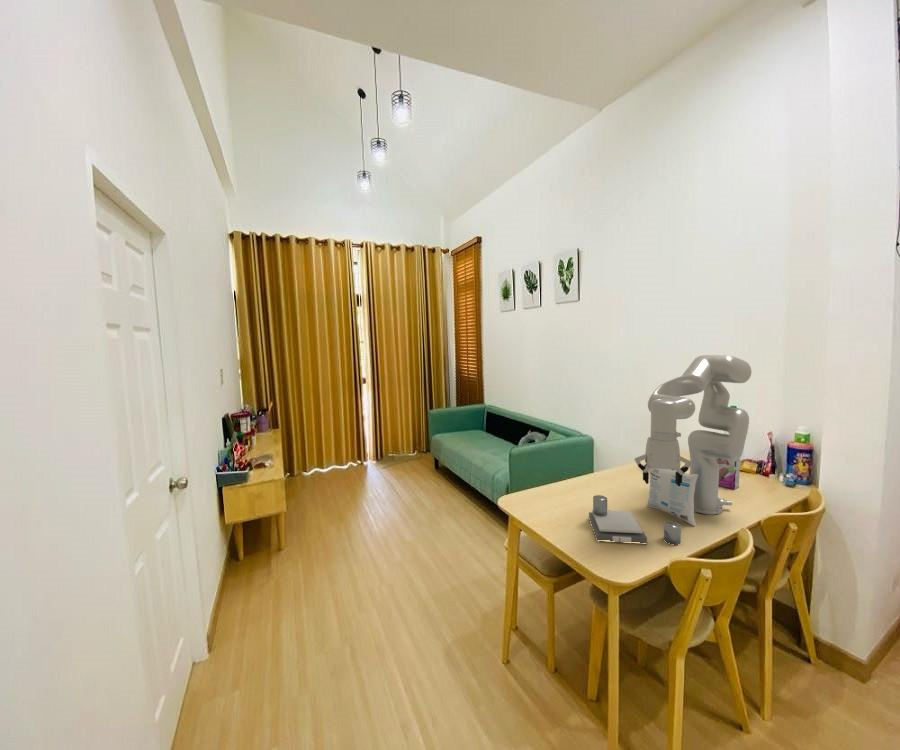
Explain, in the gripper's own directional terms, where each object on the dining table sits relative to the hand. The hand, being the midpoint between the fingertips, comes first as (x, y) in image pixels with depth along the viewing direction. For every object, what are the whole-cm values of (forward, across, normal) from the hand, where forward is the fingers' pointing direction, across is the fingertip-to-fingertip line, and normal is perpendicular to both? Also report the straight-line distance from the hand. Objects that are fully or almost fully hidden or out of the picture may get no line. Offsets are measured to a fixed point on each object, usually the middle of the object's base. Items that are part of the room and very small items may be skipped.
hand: (661, 483), depth 127 cm
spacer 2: (+20, -3, +2) cm, 20 cm away
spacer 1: (+16, +19, -5) cm, 25 cm away
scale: (+20, +14, -1) cm, 24 cm away
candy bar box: (+19, -36, -51) cm, 66 cm away
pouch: (+20, -7, -16) cm, 27 cm away
